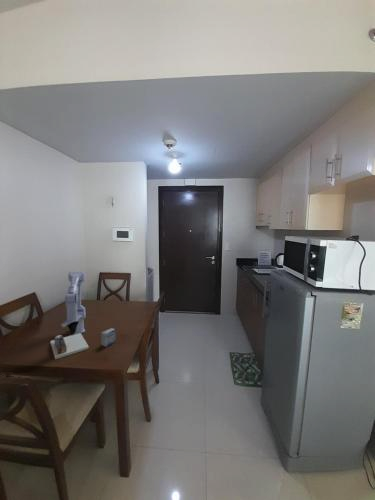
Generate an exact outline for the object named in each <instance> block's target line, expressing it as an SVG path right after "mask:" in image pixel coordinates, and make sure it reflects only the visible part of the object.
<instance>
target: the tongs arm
mask: <svg viewBox="0 0 375 500" xmlns="http://www.w3.org/2000/svg"><path fill="white" fill-rule="evenodd" d="M54 339H60V345H61V347H62V352H66V351H67V348H66V344H65V341H64V336H63V335H60V334H59V335H56V336H55V337H54Z"/></svg>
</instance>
